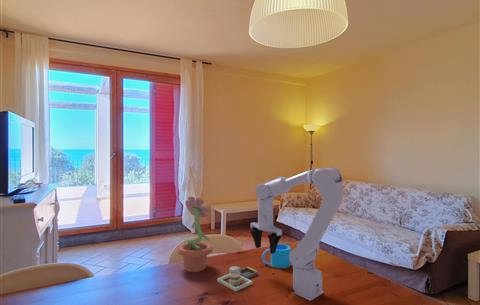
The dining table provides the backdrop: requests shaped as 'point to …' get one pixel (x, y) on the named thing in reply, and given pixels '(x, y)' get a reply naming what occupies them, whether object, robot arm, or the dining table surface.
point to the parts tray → (233, 286)
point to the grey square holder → (248, 272)
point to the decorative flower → (196, 239)
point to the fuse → (234, 275)
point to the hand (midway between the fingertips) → (265, 250)
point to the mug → (279, 256)
